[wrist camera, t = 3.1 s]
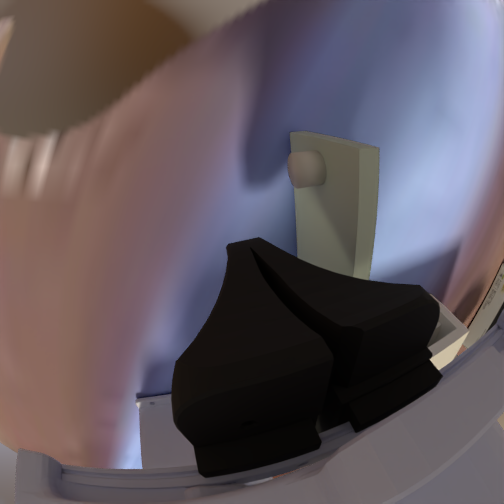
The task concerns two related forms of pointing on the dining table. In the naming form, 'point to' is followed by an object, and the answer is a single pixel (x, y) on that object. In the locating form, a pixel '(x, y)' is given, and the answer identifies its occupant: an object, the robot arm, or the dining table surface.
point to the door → (334, 201)
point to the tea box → (487, 311)
